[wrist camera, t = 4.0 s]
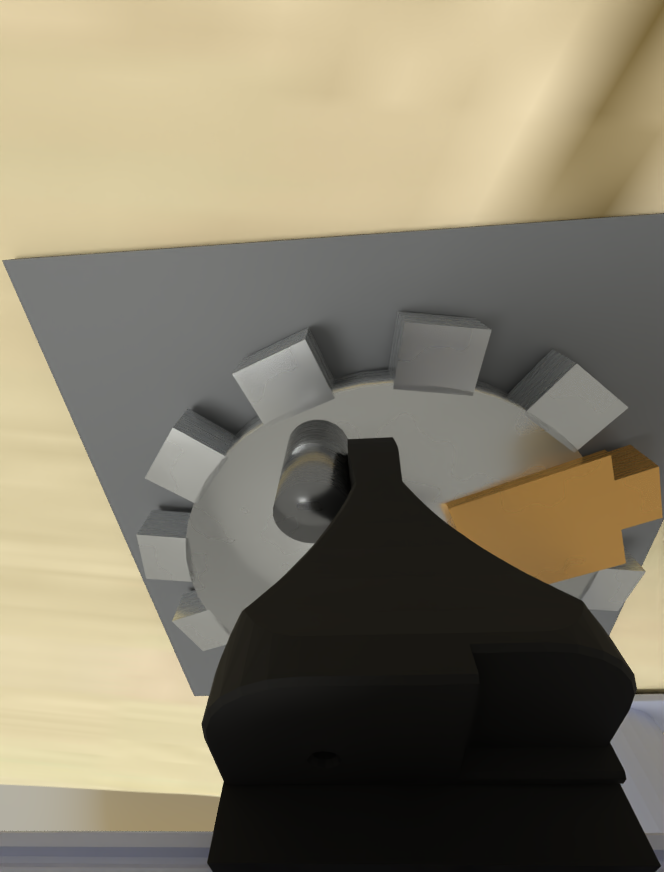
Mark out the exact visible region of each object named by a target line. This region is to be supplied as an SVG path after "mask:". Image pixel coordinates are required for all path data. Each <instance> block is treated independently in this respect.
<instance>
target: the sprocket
mask: <svg viewBox="0 0 664 872" xmlns="http://www.w3.org/2000/svg"><path fill="white" fill-rule="evenodd" d="M491 331H492V330H491V329H490V328H488V327H487V326H486V325H484V324H483V323H481V322H480V321H478V320H477V319H476V318H465V317H454V316H443V315H432V314H421V313H410V312H399V311H398V312H397V318H396V324H395V330H394V336H393V343H392V349H391V355H390V361H389V367H388V369H386V370H376V371H366V372H359V373H354V374H350V375H346V376H341V377H337V378H333V376H332V374H331V372H330V370H329V368H328V366H327V364H326V362H325V360H324V358H323V356H322V353H321V351H320V349H319V347H318V345H317V343H316V341H315V339H314V337H313V335H312V333H311V331H310V329H309V327H308V328H306V329H304V330H302V331H300V332H298V333H296V334H294V335H292V336H290V337H287V338H285V339H283V340H281V341H279V342H277V343H275V344H273V345H271V346H269V347H267V348H264V349H262V350H260V351H258V352H256V353H254V354H252V355H250V356H248V357H246V358H244V359H242V361H241V362H240V364H239V365H238V366H237V368H236V369H235V371H234V372H233V374H232V375H233V376H234V378H235V379H236V381H237V383H238V384H239V386H240V387H241V389H242V391H243V392H244V394H245V395H246V397H247V399H248V400H249V402H250V403H251V405H252V407H253V408H254V410H255V411H256V413H257V416H256V417H254V418H253V419H252V420H251V421H249V422H248V423H247V424H246V425H245V426H244V427H243V428H242V429H241V430H240V431H239V432H238V433H237V434H236V435H234V434H232V433H231V432H229V431H227V430H225V429H224V428H222V427H220V426H218V425H217V424H215V423H213V422H211V421H209V420H208V419H206V418H204V417H202V416H201V415H199V414H197V413H195V412H194V411H192V410H190V409H187V410H186V412H185V413H184V414H183V415H182V417H181V418H180V419H179V420H178V422H177V423H176V424H175V425H174V427H173V428H172V430H171V431H170V433H169V435H168V437H167V439H166V440H165V442H164V444H163V446H162V448H161V449H160V451H159V453H158V455H157V457H156V458H155V460H154V462H153V464H152V466H151V467H150V469H149V471H148V473H147V475H146V476H145V479H147V480H149V481H151V482H153V483H155V484H157V485H159V486H161V487H163V488H165V489H167V490H169V491H171V492H173V493H175V494H177V495H179V496H181V497H183V498H185V499H187V500H189V501H191V502H193V503H194V505H193V508H192V511H191V513H188V512H174V511H161V510H152V511H151V513H150V514H149V516H148V517H147V519H146V521H145V522H144V524H143V525H142V527H141V528H140V530H139V531H138V533H137V534H136V535H137V540H138V544H139V549H140V553H141V558H142V562H143V567H144V571H145V576H146V579H158V580H173V581H187V582H192V583H193V586H194V588H195V590H194V591H191V592H188V593H185V594H183V596H182V598H181V601H180V603H179V606H178V608H177V610H176V613H175V615H174V618H173V620H172V622H173V623H174V624H175V625H176V626H177V627H178V628H179V629H180V630H181V631H182V632H183V633H185V634H186V635H187V636H188V637H189V638H190V639H191V640H192V641H193V642H194V643H195V644H196V645H197V646H198V647H199V648H200V649H201V650H202V651H206V650H209V649H212V648H216V647H219V646H223V645H226V644H227V642H228V639H229V637H230V634H231V632H232V630H233V628H234V626H235V624H236V622H237V620H238V618H239V616H240V614H241V612H242V610H244V609H245V608H246V607H248V606H249V605H250V604H251V603H252V602H254V601H255V600H256V599H257V598H258V597H260V596H261V595H262V594H263V593H264V592H266V591H267V590H268V589H269V588H270V587H272V586H273V585H274V584H275V583H276V582H277V581H279V580H280V579H281V578H282V577H283V576H284V575H285V574H286V573H287V572H288V571H289V570H290V569H291V568H292V567H293V566H294V565H295V564H296V563H297V562H298V561H299V560H300V559H301V558H302V557H303V556H304V555H305V554H306V553H307V552H308V550H309V549H310V548H311V547H312V546H313V545H314V544H315V542H316V541H317V540H318V539H319V537H320V536H321V535H322V534H323V532H324V531H325V530H326V528H327V527H328V526H329V525H330V523H331V522H332V520H333V519H334V517H335V516H336V515H337V513H338V512H339V510H340V508H341V507H342V505H343V503H344V502H345V500H346V498H347V496H348V494H349V493H350V491H351V488H350V481H349V468H348V443H347V439H362V438H385V437H393V438H394V440H395V442H396V444H397V446H398V450H399V457H400V466H401V474H402V481H403V482H404V483H405V485H406V486H407V487H408V488H409V489H410V490H411V491H412V492H413V493H414V494H415V495H416V496H417V497H418V498H419V499H420V500H421V501H422V502H423V503H424V504H425V505H426V506H427V507H428V508H429V509H430V510H432V511H433V512H434V513H435V514H436V515H437V516H439V517H440V518H441V519H442V520H443V521H445V522H446V523H447V524H449V525H450V526H451V527H453V528H454V529H455V530H457V531H458V532H460V533H461V534H463V535H464V536H465V537H467V538H468V539H470V540H471V541H473V542H474V543H476V544H477V545H479V546H480V547H482V548H483V549H485V550H487V551H488V552H490V553H491V554H493V555H495V556H497V557H498V558H500V559H502V560H504V561H505V562H507V563H509V564H511V565H512V566H514V567H516V568H518V569H519V570H521V571H523V572H525V573H527V574H529V575H531V576H533V577H535V578H537V579H539V580H541V581H543V582H545V583H547V584H549V585H551V586H553V587H555V588H557V589H559V590H561V591H564V592H566V593H568V594H570V595H572V596H574V597H576V598H578V599H580V600H582V601H583V602H584V603H585V605H586V606H587V608H588V609H593V610H608V611H619V609H620V608H621V606H622V605H623V603H624V602H625V601H626V599H627V598H628V596H629V595H630V593H631V592H632V591H633V589H634V588H635V586H636V585H637V583H638V582H639V580H640V579H641V578H642V576H643V575H644V573H645V572H646V571H645V570H644V569H643V568H642V567H641V565H640V564H639V563H638V562H637V561H636V560H635V559H634V558H633V556H632V555H631V554H630V553H629V552H628V551H627V550H626V548H625V547H624V545H623V538H622V531H621V530H622V529H626V528H629V527H632V526H636V525H639V524H643V523H646V522H650V521H653V520H657V519H660V518H663V516H662V502H661V487H660V472H659V466H658V465H656V464H655V463H654V462H653V461H651V460H650V459H649V458H647V457H646V456H645V455H643V454H642V453H641V452H639V451H638V450H637V449H635V448H634V447H633V446H632V445H627V446H624V447H621V448H618V449H615V450H612V451H609V452H607V451H606V450H602V451H599V452H596V453H593V454H590V455H587V456H584V457H582V455H581V454H580V453H579V451H578V450H579V449H580V448H581V447H582V446H583V445H584V444H586V443H587V442H588V441H589V440H590V439H592V438H593V437H594V436H595V435H596V434H598V433H599V432H600V431H601V430H602V429H604V428H605V427H606V426H607V425H608V424H610V423H611V422H612V421H613V420H614V419H616V418H617V417H618V416H619V415H620V414H622V413H623V412H624V411H625V410H626V409H628V407H627V406H626V405H625V404H624V403H623V402H621V401H620V400H619V399H618V398H617V397H616V396H614V395H613V394H612V393H611V392H610V391H609V390H607V389H606V388H605V387H604V386H603V385H602V384H600V383H599V382H598V381H597V380H596V379H595V378H593V377H592V376H591V375H590V374H589V373H588V372H586V371H585V370H584V369H583V368H582V367H581V366H579V365H578V364H577V363H575V362H574V361H572V360H570V359H569V358H567V357H565V356H564V355H562V354H560V353H559V352H557V351H555V350H553V349H552V350H551V351H550V352H549V353H548V354H547V355H546V356H545V357H544V358H543V359H542V360H541V361H540V362H539V363H538V364H537V365H536V366H535V367H534V368H533V369H532V370H531V371H530V372H529V373H528V374H527V375H526V376H525V377H524V378H523V379H522V380H521V381H520V382H519V383H518V384H517V385H516V386H515V387H514V388H513V389H512V390H511V391H510V392H509V393H507V392H505V391H503V390H500V389H498V388H496V387H494V386H492V385H489V384H487V383H485V382H481V381H478V380H477V379H478V376H479V372H480V369H481V365H482V362H483V358H484V355H485V351H486V348H487V344H488V341H489V337H490V334H491Z"/></svg>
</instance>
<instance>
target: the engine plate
mask: <svg viewBox="0 0 664 872" xmlns="http://www.w3.org/2000/svg"><path fill="white" fill-rule="evenodd" d="M2 261H3V263H4V266H5V268H6V270H7V273H8V275H9V277H10V279H11V282H12V284H13V286H14V288H15V291H16V293H17V295H18V297H19V300H20V302H21V304H22V307H23V309H24V311H25V313H26V316H27V318H28V320H29V322H30V325H31V327H32V329H33V331H34V334H35V336H36V338H37V340H38V343H39V345H40V347H41V350H42V352H43V354H44V356H45V359H46V361H47V363H48V365H49V368H50V370H51V372H52V374H53V377H54V379H55V381H56V384H57V386H58V388H59V390H60V393H61V395H62V397H63V399H64V402H65V404H66V406H67V408H68V411H69V413H70V415H71V418H72V420H73V422H74V424H75V427H76V429H77V431H78V433H79V436H80V438H81V440H82V442H83V445H84V447H85V449H86V452H87V454H88V456H89V458H90V461H91V463H92V465H93V467H94V470H95V472H96V474H97V476H98V479H99V481H100V483H101V486H102V488H103V490H104V492H105V495H106V497H107V499H108V501H109V504H110V506H111V508H112V510H113V513H114V515H115V517H116V520H117V522H118V524H119V526H120V529H121V531H122V533H123V535H124V538H125V540H126V542H127V544H128V547H129V549H130V551H131V554H132V556H133V558H134V560H135V563H136V565H137V567H138V569H139V572H140V574H141V576H142V578H143V581H144V583H145V585H146V588H147V590H148V592H149V594H150V597H151V599H152V601H153V603H154V606H155V608H156V610H157V612H158V615H159V617H160V619H161V622H162V624H163V626H164V628H165V631H166V633H167V635H168V637H169V640H170V642H171V644H172V646H173V649H174V651H175V653H176V656H177V658H178V660H179V662H180V665H181V667H182V669H183V671H184V674H185V676H186V678H187V680H188V683H189V685H190V687H191V689H192V692H193V694H194V696H209V695H210V691H211V687H212V683H213V680H214V676H215V673H216V669H217V667H218V664H219V661H220V659H221V656H222V654H223V651H224V649H225V646H226V645H223V646H219V647H216V648H212V649H209V650H206V651H202V650H201V649H200V648H199V647H198V646H197V645H196V644H195V643H194V642H193V641H192V640H191V639H190V638H189V637H188V636H187V635H186V634H185V633H183V632H182V631H181V630H180V629H179V628H178V627H177V626H176V625H175V624H174V623H173V622H172V620H173V618H174V615H175V613H176V610H177V608H178V606H179V603H180V601H181V598H182V596H183V594H185V593H188V592H191V591H194V590H195V588H194V586H193V583H192V582H187V581H173V580H158V579H146V576H145V571H144V567H143V562H142V558H141V553H140V549H139V544H138V540H137V535H136V534H137V533H138V531H139V530H140V528H141V527H142V525H143V524H144V522H145V521H146V519H147V517H148V516H149V514H150V513H151V511H152V510H161V511H174V512H188V513H191V511H192V508H193V505H194V503H193V502H191V501H189V500H187V499H185V498H183V497H181V496H179V495H177V494H175V493H173V492H171V491H169V490H167V489H165V488H163V487H161V486H159V485H157V484H155V483H153V482H151V481H149V480H147V479H145V476H146V475H147V473H148V471H149V469H150V467H151V466H152V464H153V462H154V460H155V458H156V457H157V455H158V453H159V451H160V449H161V448H162V446H163V444H164V442H165V440H166V439H167V437H168V435H169V433H170V431H171V430H172V428H173V427H174V425H175V424H176V423H177V422H178V420H179V419H180V418H181V417H182V415H183V414H184V413H185V412H186V410H187V409H190V410H192V411H194V412H195V413H197V414H199V415H201V416H202V417H204V418H206V419H208V420H209V421H211V422H213V423H215V424H217V425H218V426H220V427H222V428H224V429H225V430H227V431H229V432H231V433H232V434H234V435H236V434H237V433H238V432H239V431H240V430H241V429H242V428H243V427H244V426H245V425H246V424H247V423H248V422H249V421H251V420H252V419H253V418H254V417H256V416H257V413H256V411H255V410H254V408H253V407H252V405H251V403H250V402H249V400H248V399H247V397H246V395H245V394H244V392H243V391H242V389H241V387H240V386H239V384H238V383H237V381H236V379H235V378H234V376H233V375H232V374H233V372H234V371H235V369H236V368H237V366H238V365H239V364H240V362H241V361H242V359H244V358H246V357H248V356H250V355H252V354H254V353H256V352H258V351H260V350H262V349H264V348H267V347H269V346H271V345H273V344H275V343H277V342H279V341H281V340H283V339H285V338H287V337H290V336H292V335H294V334H296V333H298V332H300V331H302V330H304V329H306V328H308V327H309V329H310V331H311V333H312V335H313V337H314V339H315V341H316V343H317V345H318V347H319V349H320V351H321V353H322V356H323V358H324V360H325V362H326V364H327V366H328V368H329V370H330V372H331V374H332V376H333V378H337V377H341V376H346V375H350V374H354V373H359V372H366V371H376V370H386V369H388V367H389V361H390V355H391V349H392V343H393V336H394V330H395V324H396V318H397V312H398V311H399V312H410V313H421V314H432V315H443V316H454V317H465V318H476V319H477V320H478V321H480V322H481V323H483V324H484V325H486V326H487V327H488V328H490V329H491V330H492V331H491V334H490V337H489V341H488V344H487V348H486V351H485V355H484V358H483V362H482V365H481V369H480V372H479V376H478V379H477V380H478V381H481V382H485V383H487V384H489V385H492V386H494V387H496V388H498V389H500V390H503V391H505V392H507V393H509V392H510V391H511V390H512V389H513V388H514V387H515V386H516V385H517V384H518V383H519V382H520V381H521V380H522V379H523V378H524V377H525V376H526V375H527V374H528V373H529V372H530V371H531V370H532V369H533V368H534V367H535V366H536V365H537V364H538V363H539V362H540V361H541V360H542V359H543V358H544V357H545V356H546V355H547V354H548V353H549V352H550V351H551V350H552V349H553V350H555V351H557V352H559V353H560V354H562V355H564V356H565V357H567V358H569V359H570V360H572V361H574V362H575V363H577V364H578V365H579V366H581V367H582V368H583V369H584V370H585V371H586V372H588V373H589V374H590V375H591V376H592V377H593V378H595V379H596V380H597V381H598V382H599V383H600V384H602V385H603V386H604V387H605V388H606V389H607V390H609V391H610V392H611V393H612V394H613V395H614V396H616V397H617V398H618V399H619V400H620V401H621V402H623V403H624V404H625V405H626V406H627V407H628V409H626V410H625V411H624V412H623V413H622V414H620V415H619V416H618V417H617V418H616V419H614V420H613V421H612V422H611V423H610V424H608V425H607V426H606V427H605V428H604V429H602V430H601V431H600V432H599V433H598V434H596V435H595V436H594V437H593V438H592V439H590V440H589V441H588V442H587V443H586V444H584V445H583V446H582V447H581V448H580V449H579V450H578V451H579V453H580V454H581V455H582V457H584V456H587V455H590V454H593V453H596V452H599V451H602V450H606V451H607V452H609V451H612V450H615V449H618V448H621V447H624V446H627V445H632V446H633V447H634V448H635V449H637V450H638V451H639V452H641V453H642V454H643V455H645V456H646V457H647V458H649V459H650V460H651V461H653V462H654V463H655V464H656V465H658V466H659V472H660V487H661V502H662V516H663V518H660V519H657V520H653V521H650V522H646V523H643V524H639V525H636V526H632V527H629V528H626V529H622V530H621V531H622V538H623V545H624V547H625V548H626V550H627V551H628V552H629V553H630V554H631V555H632V556H633V558H634V559H635V560H636V561H637V562H638V563H639V564H640V565H641V566H642V564H643V562H644V560H645V558H646V556H647V554H648V551H649V549H650V547H651V545H652V543H653V541H654V539H655V537H656V534H657V532H658V530H659V528H660V526H661V524H662V522H663V520H664V213H660V214H646V215H632V216H618V217H604V218H589V219H575V220H561V221H547V222H533V223H519V224H504V225H490V226H476V227H462V228H448V229H434V230H420V231H405V232H391V233H377V234H363V235H349V236H335V237H321V238H306V239H292V240H278V241H264V242H250V243H236V244H221V245H207V246H193V247H179V248H165V249H151V250H137V251H122V252H108V253H94V254H80V255H66V256H52V257H37V258H23V259H11V260H2ZM624 603H625V602H624ZM624 603H623V605H624ZM623 605H622V606H621V608H620V609H619V611H608V610H593V609H589V610H590V612H591V613H592V614H593V615H594V617H595V618H596V619H597V620H598V622H599V623H600V624H601V626H602V627H603V628H604V629H605V631H606V632H607V634H608V635H610V632H611V630H612V628H613V626H614V624H615V622H616V620H617V617H618V615H619V613H620V611H621V609H622V607H623Z"/></svg>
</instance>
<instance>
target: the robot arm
mask: <svg viewBox="0 0 664 872" xmlns="http://www.w3.org/2000/svg"><path fill="white" fill-rule="evenodd" d="M347 443H348V468H349V481H350V488H351V491H350V493H349V494H348V496H347V498H346V500H345V502H344V503H343V505H342V507H341V508H340V510H339V512H338V513H337V515H336V516H335V517H334V519H333V520H332V522H331V523H330V525H329V526H328V527H327V528H326V530H325V531H324V532H323V534H322V535H321V536H320V537H319V539H318V540H317V541H316V542H315V544H314V545H313V546H312V547H311V548H310V549H309V550H308V552H307V553H306V554H305V555H304V556H303V557H302V558H301V559H300V560H299V561H298V562H297V563H296V564H295V565H294V566H293V567H292V568H291V569H290V570H289V571H288V572H287V573H286V574H285V575H284V576H283V577H282V578H281V579H280V580H279V581H277V582H276V583H275V584H274V585H273V586H272V587H270V588H269V589H268V590H267V591H266V592H264V593H263V594H262V595H261V596H260V597H258V598H257V599H256V600H255V601H254V602H252V603H251V604H250V605H249V606H248V607H246V608H245V609H244V610H242V612H241V614H240V616H239V618H238V620H237V622H236V624H235V626H234V628H233V630H232V632H231V634H230V637H229V639H228V642H227V644H226V646H225V649H224V651H223V654H222V656H221V659H220V661H219V664H218V667H217V669H216V673H215V676H214V680H213V683H212V687H211V691H210V695H209V698H208V702H207V706H206V710H205V713H204V717H203V721H202V729H203V734H204V738H205V741H206V743H207V745H208V747H209V749H210V752H211V754H212V756H213V758H214V760H215V763H216V765H217V767H218V769H219V772H220V774H221V776H222V778H223V780H224V783H223V788H222V793H221V798H220V802H219V807H218V812H217V817H216V822H215V827H214V831H213V832H173V831H169V832H165V831H158V832H157V831H153V832H151V831H148V832H147V831H146V832H145V831H144V832H143V831H0V872H664V734H663V733H664V694H635V693H636V690H637V687H636V682H635V677H634V674H633V672H632V670H631V669H630V667H629V666H628V664H627V663H626V661H625V660H624V658H623V657H622V655H621V654H620V652H619V650H618V649H617V647H616V646H615V644H614V643H613V641H612V640H611V638H610V637H609V635H608V634H607V632H606V631H605V629H604V628H603V627H602V626H601V624H600V623H599V622H598V620H597V619H596V618H595V617H594V615H593V614H592V613H591V612H590V610H589V609H588V608H587V606H586V605H585V603H584V602H583V601H582V600H580V599H578V598H576V597H574V596H572V595H570V594H568V593H566V592H564V591H561V590H559V589H557V588H555V587H553V586H551V585H549V584H547V583H545V582H543V581H541V580H539V579H537V578H535V577H533V576H531V575H529V574H527V573H525V572H523V571H521V570H519V569H518V568H516V567H514V566H512V565H511V564H509V563H507V562H505V561H504V560H502V559H500V558H498V557H497V556H495V555H493V554H491V553H490V552H488V551H487V550H485V549H483V548H482V547H480V546H479V545H477V544H476V543H474V542H473V541H471V540H470V539H468V538H467V537H465V536H464V535H463V534H461V533H460V532H458V531H457V530H455V529H454V528H453V527H451V526H450V525H449V524H447V523H446V522H445V521H443V520H442V519H441V518H440V517H439V516H437V515H436V514H435V513H434V512H433V511H432V510H430V509H429V508H428V507H427V506H426V505H425V504H424V503H423V502H422V501H421V500H420V499H419V498H418V497H417V496H416V495H415V494H414V493H413V492H412V491H411V490H410V489H409V488H408V487H407V486H406V485H405V483H404V482H403V481H402V474H401V466H400V457H399V450H398V446H397V444H396V442H395V440H394V438H393V437H385V438H362V439H347Z"/></svg>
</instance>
